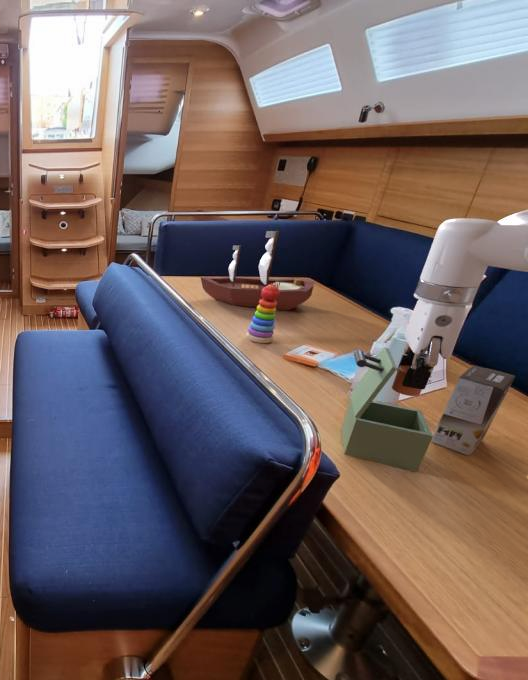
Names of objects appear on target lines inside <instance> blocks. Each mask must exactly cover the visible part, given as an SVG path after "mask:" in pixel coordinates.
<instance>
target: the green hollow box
mask: <svg viewBox="0 0 528 680" xmlns="http://www.w3.org/2000/svg"><path fill="white" fill-rule="evenodd" d="M340 435H341V442H342V448H343V454H344V455H346V456H351V457H355V458H358V459H363V460H367V461H371V462H375V463H379V464H383V465H386V466H387V465H388V466H391V467H395V468H398V469H403V470H407V471H411V472H415V473H418V470H419V468H420V466H421V464H422V462H423V460H424V457H425V455H426V453H427V452H428V451H427V450H428V449H429V446H430V444H431V440H432V437H433V433H432V430H431V429H430V426H429V423H428V421H427V419H426V417H425V415H424V413H423V411H422V410H421V409H417V408H416V409H415V408H411V407H405V406H400V405H395V404H390V403H386V402H380V401H374V400H373V401H372V402H371V404H370V405H369V406H368V407H367V409H366V410H365V411H364V413H363V414H362V415H361V417H360V418H357V417H355V416H354V411H353V406H352V401H351V399H350V401H349V403H348V406H347V409H346V412H345V415H344V417H343V421H342V424H341V427H340Z"/></svg>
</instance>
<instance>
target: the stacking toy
mask: <svg viewBox="0 0 528 680" xmlns="http://www.w3.org/2000/svg"><path fill="white" fill-rule="evenodd" d="M279 294H280V291H279V289H278V288H277V287H276V286H273V285H269V286H266V287H264V288H263V290H262V292H261V296H262V298H263V299H261V300H260V301H259V304H260V305H258V306H257V308H256V310H255V312H254V315H253V316H252V319H251V322H250V323H249V324H250V325H249V326H248V328H247V332H246V334H245V336H246V338H247V339H248V340H249V341H251V342H255V343H259V344H268V343H271V342H273V340H274V333H275V332H274V330H275V327H276V326H275V322H276V320H275V318H276V311H277V310H276V308H275V306H276V305H277V302H276V301H275V300H276V299H277V298H278V297H279Z"/></svg>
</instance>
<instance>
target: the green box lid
mask: <svg viewBox="0 0 528 680" xmlns="http://www.w3.org/2000/svg"><path fill="white" fill-rule="evenodd" d="M353 356H354V359H355V363H356V366H357V367H358V368H365V367H366V368H368V369H367V370H366V372H365V373H364V374H363V376H361V378H360V380H359V381H358V382H357V384H356V385H355V386H354V388H353V390H352V391H351V392H350V394H349V396H350V400H351V401H352V406H353V411H354V416H355V417H357V418H360V417H361V415H362V414H363V413H364V411H365V410H366V409H367V407H368V406H369V405H370V404H371V402H372V401H374V400H375V399H376V397H377V396H378V394H379V393H380V392H381V391H382V390H383V388H384V387H385V385H386V384H387V383H388V382H389V380H390V379H391V378H392V377H393V375H394V374H395V373H396V372H397V369H398V366H397V365H396V363H395V360H394V358H393V356H392V354H391V351H390V349H389V348H388V347H383V348H382V349H381V351H380V352H379V353H378V355H377V356H376V357H374V356H372V355H369V354H366V353H365V352H364V351H363V350H362V349H357V350H355V351H354V352H353ZM368 361H370V362H372V363H370V362H368Z"/></svg>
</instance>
